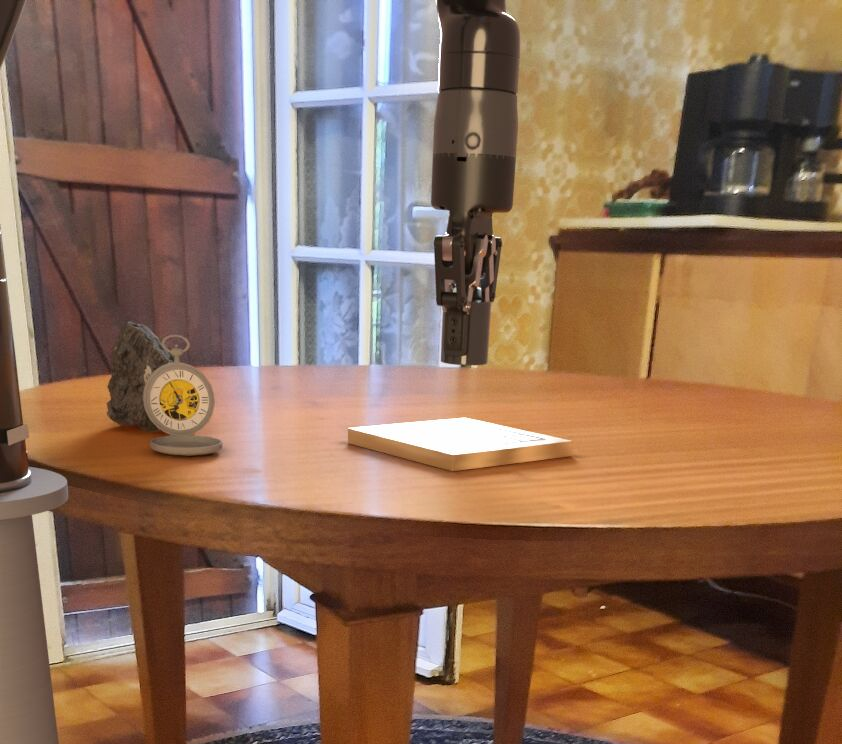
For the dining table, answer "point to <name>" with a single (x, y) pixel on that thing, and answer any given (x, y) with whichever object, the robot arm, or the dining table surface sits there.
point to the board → (459, 443)
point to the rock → (136, 375)
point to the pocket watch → (180, 406)
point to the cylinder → (473, 336)
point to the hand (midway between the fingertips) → (463, 352)
